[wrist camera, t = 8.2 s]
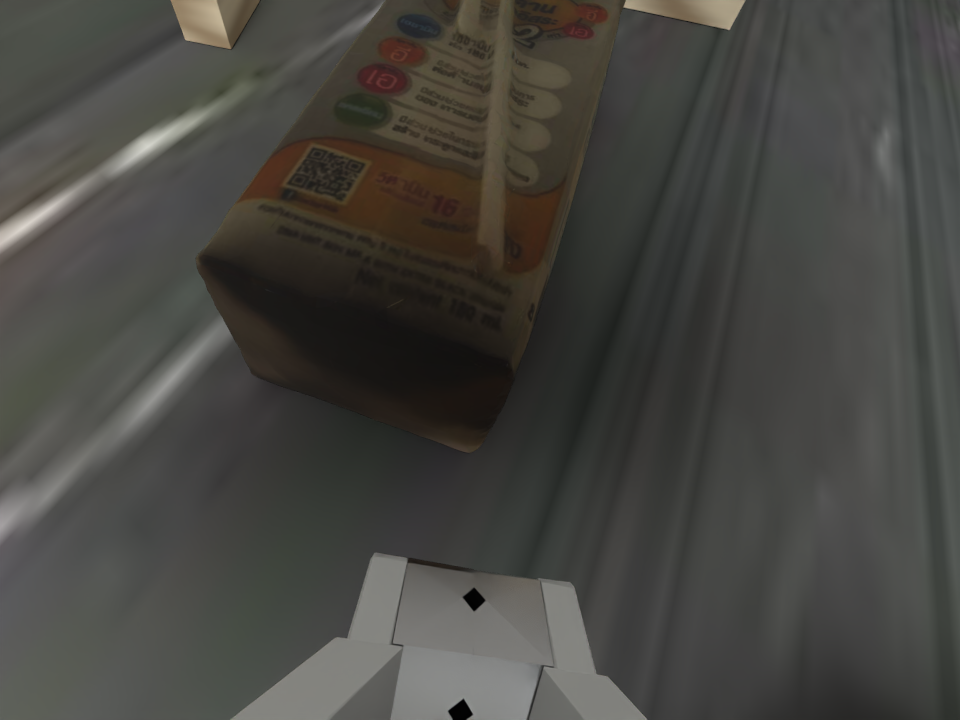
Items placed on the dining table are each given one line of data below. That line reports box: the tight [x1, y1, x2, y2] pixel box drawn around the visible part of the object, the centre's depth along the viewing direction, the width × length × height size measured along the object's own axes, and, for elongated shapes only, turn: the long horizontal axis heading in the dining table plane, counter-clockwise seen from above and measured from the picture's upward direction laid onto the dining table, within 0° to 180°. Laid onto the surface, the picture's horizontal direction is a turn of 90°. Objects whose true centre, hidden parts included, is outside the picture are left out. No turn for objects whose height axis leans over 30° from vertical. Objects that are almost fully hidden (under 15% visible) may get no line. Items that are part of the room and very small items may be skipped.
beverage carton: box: [196, 0, 626, 453], centre depth 18 cm, size 8×19×7 cm, turn 164°
